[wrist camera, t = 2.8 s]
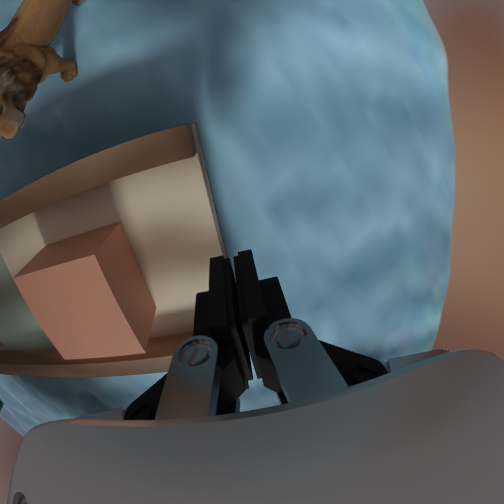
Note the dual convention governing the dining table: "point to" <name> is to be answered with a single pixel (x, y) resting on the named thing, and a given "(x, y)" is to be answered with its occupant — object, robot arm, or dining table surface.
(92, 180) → the channel board
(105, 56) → the dining table surface
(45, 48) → the lion figurine
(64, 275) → the block
